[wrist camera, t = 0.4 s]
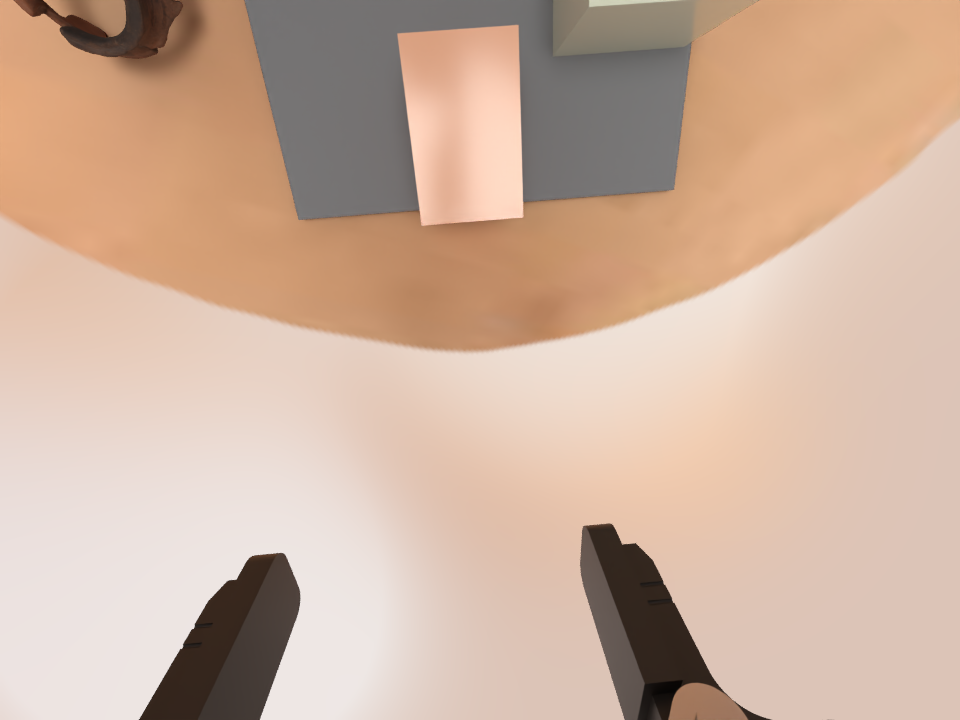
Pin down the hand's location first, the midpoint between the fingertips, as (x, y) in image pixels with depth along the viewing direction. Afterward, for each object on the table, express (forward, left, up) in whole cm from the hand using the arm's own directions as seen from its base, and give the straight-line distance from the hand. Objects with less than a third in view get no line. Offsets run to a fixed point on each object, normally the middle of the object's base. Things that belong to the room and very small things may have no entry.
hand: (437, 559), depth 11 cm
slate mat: (-16, +4, -26) cm, 30 cm away
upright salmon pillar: (-12, +2, -25) cm, 27 cm away
